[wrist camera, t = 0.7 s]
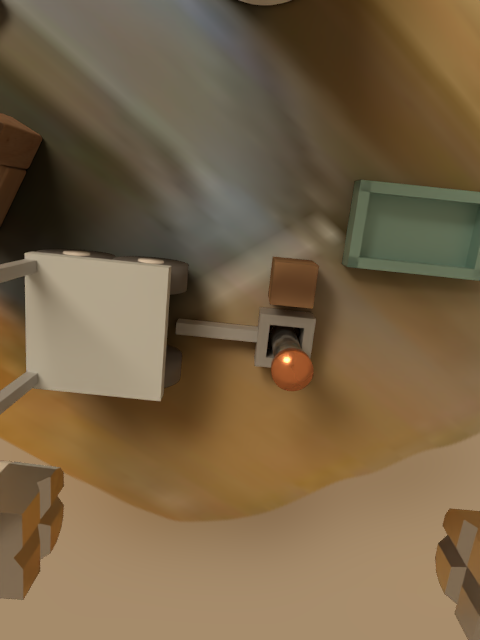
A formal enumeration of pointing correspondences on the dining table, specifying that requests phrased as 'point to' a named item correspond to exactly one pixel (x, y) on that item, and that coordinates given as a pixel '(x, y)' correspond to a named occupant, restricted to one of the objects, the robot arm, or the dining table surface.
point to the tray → (414, 230)
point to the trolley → (116, 324)
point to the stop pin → (289, 360)
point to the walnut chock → (293, 282)
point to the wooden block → (14, 158)
